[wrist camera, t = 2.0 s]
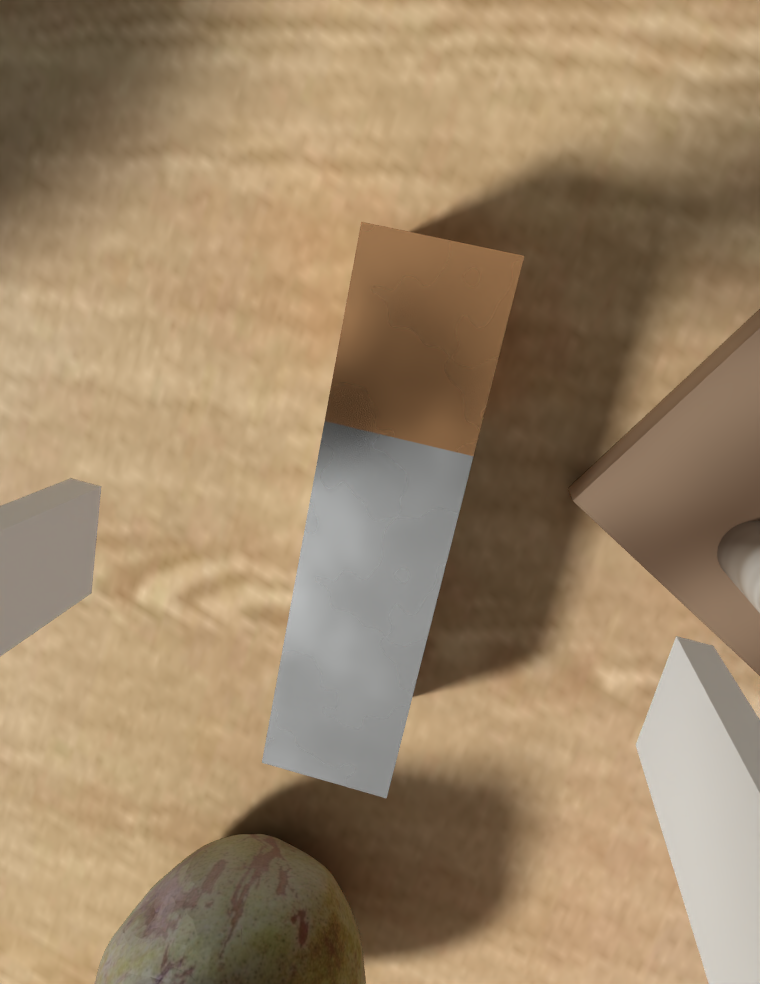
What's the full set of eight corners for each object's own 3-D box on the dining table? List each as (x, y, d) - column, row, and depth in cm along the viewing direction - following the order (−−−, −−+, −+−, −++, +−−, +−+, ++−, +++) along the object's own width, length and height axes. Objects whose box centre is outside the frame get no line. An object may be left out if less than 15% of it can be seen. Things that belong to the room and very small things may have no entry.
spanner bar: (407, 698, 26) (386, 798, 21) (307, 671, 27) (261, 762, 21) (516, 266, 21) (524, 255, 16) (392, 240, 22) (361, 221, 17)
